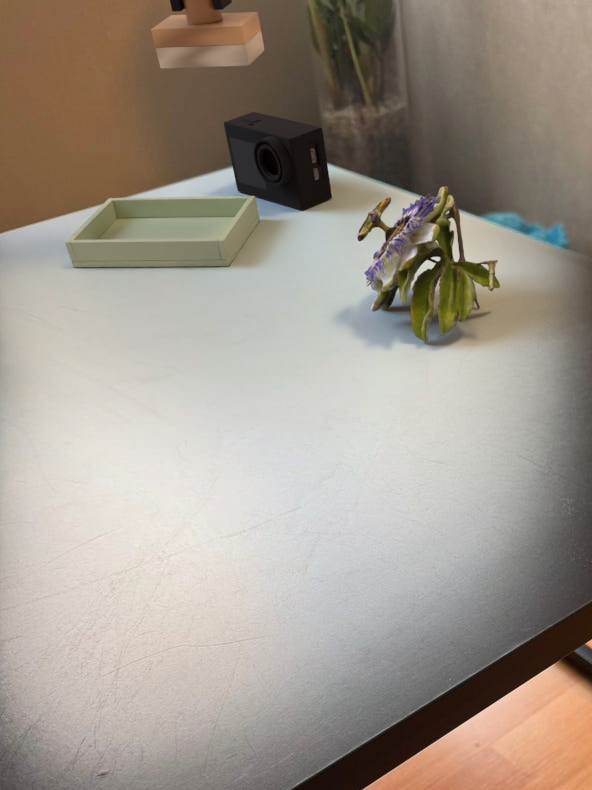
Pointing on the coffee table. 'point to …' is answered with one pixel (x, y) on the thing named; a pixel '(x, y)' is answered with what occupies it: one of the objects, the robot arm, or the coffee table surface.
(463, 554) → the coffee table surface
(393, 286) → the passion flower
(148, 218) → the tray
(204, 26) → the brush
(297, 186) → the digital camera
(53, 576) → the coffee table surface
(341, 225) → the coffee table surface
